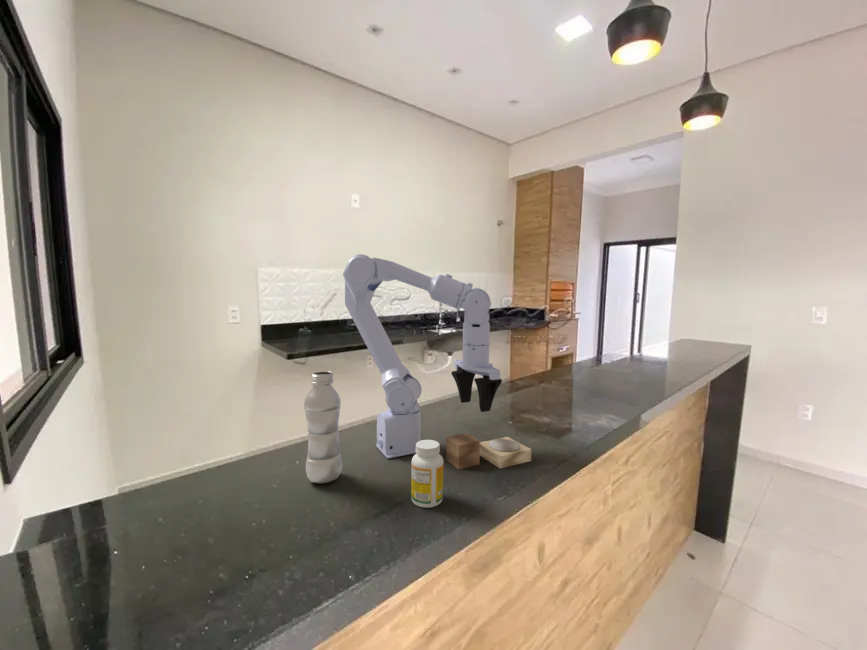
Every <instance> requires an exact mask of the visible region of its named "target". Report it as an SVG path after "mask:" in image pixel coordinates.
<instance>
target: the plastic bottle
mask: <svg viewBox="0 0 867 650" xmlns="http://www.w3.org/2000/svg"><path fill="white" fill-rule="evenodd" d="M333 375H334V374H333V371H326V370H325V371H324V370H323V371H316V372H313V373H311V385H312V387H311V389H310V390H309V392H307V394H306V397H305V399H304V402H303V406H304V413H305V419H306V425H307V426H306V427H307V432H308V433H307V436H308V440H307V441H308V444H307V456H306V460H305V461H306V462H305V473H306V477H307V479H308V480H309V481H310V482H311V483H315V484H326V483H330V482H333V481H335V480H337V479H338V477H339V476H340V474H341V473H342V470H343V469H342V468H343V460H342V459H343V458H342V455H341V450H340V449H341V448H340V441H339V440H340V439H339V422H340V421H339V419H340V413H341V405H342V404H341V402H342V401H341V397H340V395H339V393H338V392H337V390H336V388H334V386H333V385H332V384H334V376H333Z"/></svg>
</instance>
